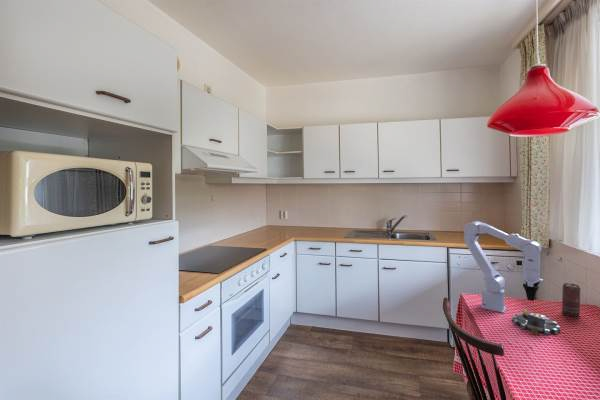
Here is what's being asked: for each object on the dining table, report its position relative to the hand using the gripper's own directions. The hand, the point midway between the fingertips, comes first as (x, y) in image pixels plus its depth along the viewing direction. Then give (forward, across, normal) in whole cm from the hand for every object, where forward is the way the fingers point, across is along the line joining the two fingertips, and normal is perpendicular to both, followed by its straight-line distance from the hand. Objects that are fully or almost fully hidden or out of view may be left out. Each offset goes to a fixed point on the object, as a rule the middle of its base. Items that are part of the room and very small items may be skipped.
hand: (531, 297), depth 138 cm
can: (+10, +15, -14) cm, 23 cm away
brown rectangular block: (+9, -17, -2) cm, 20 cm away
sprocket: (+9, -8, -2) cm, 12 cm away
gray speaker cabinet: (+8, -12, -2) cm, 14 cm away
